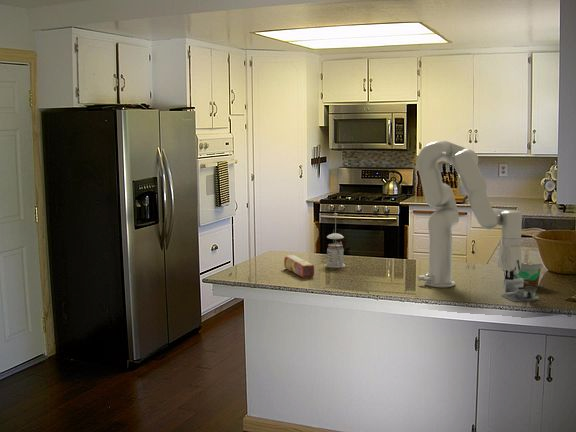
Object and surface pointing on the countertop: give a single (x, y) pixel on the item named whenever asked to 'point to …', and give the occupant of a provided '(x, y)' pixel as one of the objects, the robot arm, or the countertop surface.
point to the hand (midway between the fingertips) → (509, 286)
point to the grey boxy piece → (515, 286)
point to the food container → (529, 274)
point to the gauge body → (520, 296)
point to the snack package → (299, 266)
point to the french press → (335, 250)
